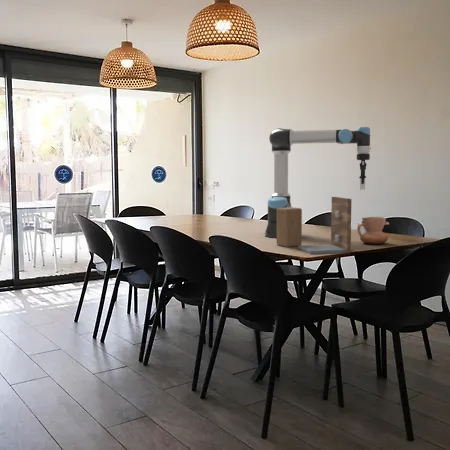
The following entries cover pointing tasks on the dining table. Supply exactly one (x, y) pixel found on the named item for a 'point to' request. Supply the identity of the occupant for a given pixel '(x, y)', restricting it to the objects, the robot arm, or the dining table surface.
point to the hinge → (362, 228)
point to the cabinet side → (341, 223)
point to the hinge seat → (321, 249)
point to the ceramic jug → (373, 230)
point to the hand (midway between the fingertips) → (362, 189)
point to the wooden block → (289, 226)
